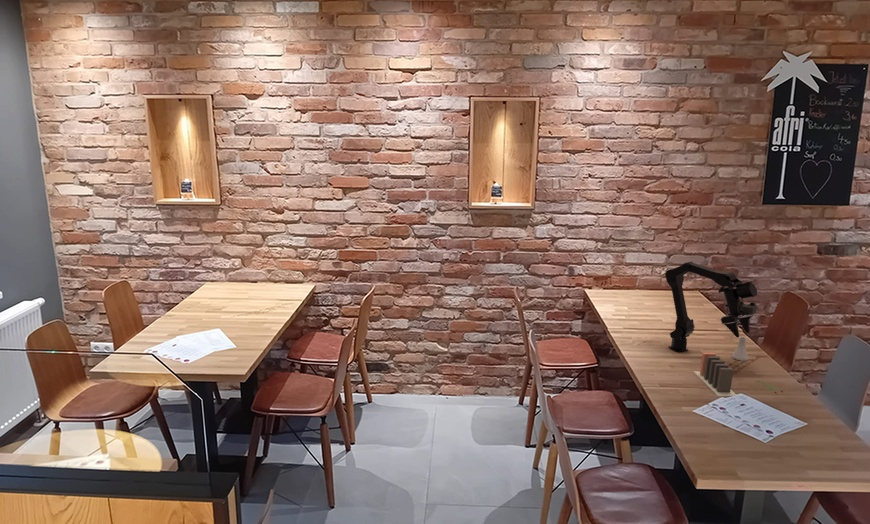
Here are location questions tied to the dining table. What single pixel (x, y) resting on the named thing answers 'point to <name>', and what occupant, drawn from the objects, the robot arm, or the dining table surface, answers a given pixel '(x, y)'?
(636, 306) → the dining table surface
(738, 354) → the flask
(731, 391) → the strip
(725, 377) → the domino
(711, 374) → the domino
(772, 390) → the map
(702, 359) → the domino
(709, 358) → the domino
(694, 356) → the dining table surface
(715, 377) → the domino
